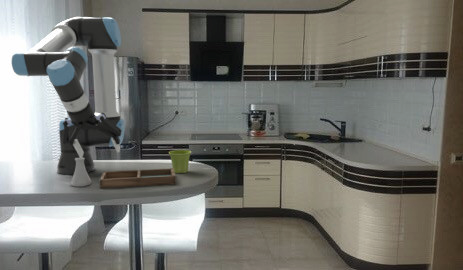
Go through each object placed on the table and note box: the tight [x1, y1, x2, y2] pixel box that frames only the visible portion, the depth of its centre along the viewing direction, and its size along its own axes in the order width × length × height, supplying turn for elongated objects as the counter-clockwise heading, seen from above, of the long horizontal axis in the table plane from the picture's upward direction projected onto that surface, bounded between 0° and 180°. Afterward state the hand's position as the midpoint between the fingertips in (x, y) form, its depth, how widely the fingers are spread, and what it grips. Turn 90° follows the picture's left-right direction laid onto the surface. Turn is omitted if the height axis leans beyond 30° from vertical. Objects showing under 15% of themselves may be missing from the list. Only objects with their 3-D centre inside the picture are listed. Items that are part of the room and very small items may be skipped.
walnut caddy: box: [99, 167, 177, 189], centre depth 146 cm, size 14×27×3 cm, turn 103°
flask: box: [69, 158, 92, 188], centre depth 141 cm, size 7×7×10 cm
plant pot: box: [168, 149, 192, 174], centre depth 162 cm, size 9×9×9 cm
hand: (100, 152), depth 137 cm, fingers open, 13 cm apart
